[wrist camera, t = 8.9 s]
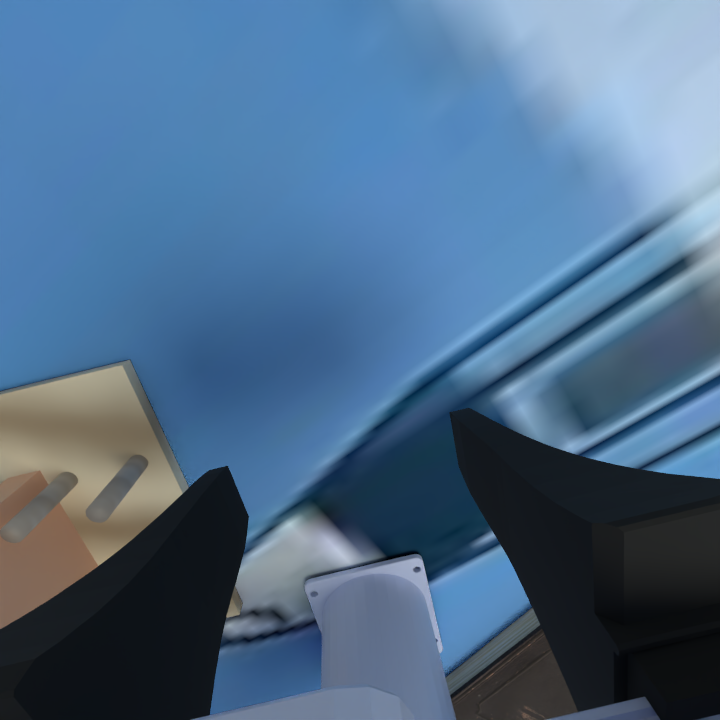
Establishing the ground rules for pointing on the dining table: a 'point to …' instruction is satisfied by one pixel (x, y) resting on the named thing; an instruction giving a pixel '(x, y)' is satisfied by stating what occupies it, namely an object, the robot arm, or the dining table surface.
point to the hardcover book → (511, 678)
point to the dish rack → (91, 457)
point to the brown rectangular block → (37, 552)
